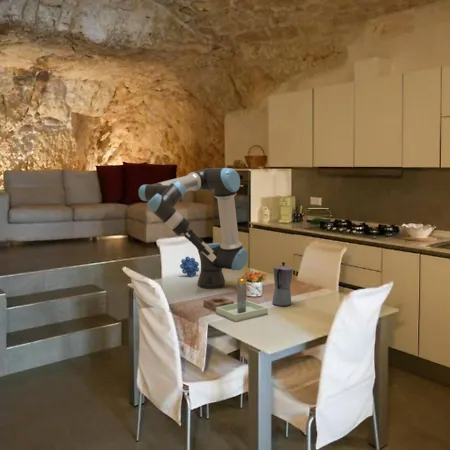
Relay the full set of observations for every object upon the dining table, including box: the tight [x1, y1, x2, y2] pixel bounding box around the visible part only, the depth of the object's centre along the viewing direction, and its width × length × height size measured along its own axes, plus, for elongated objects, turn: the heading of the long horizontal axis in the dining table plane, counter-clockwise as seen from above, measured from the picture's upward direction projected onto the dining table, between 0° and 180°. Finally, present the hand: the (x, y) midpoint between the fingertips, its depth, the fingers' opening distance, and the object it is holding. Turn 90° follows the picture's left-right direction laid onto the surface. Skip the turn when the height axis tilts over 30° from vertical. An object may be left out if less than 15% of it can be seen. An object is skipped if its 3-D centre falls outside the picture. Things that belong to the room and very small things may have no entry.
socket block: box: [203, 296, 235, 312], centre depth 230 cm, size 10×10×3 cm
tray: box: [215, 300, 269, 323], centre depth 219 cm, size 18×14×3 cm
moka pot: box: [271, 261, 294, 307], centre depth 234 cm, size 10×15×20 cm, turn 161°
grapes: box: [179, 256, 200, 277], centre depth 292 cm, size 12×7×12 cm, turn 109°
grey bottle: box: [236, 277, 247, 313], centre depth 218 cm, size 4×4×15 cm
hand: (212, 256), depth 218 cm, fingers open, 13 cm apart
